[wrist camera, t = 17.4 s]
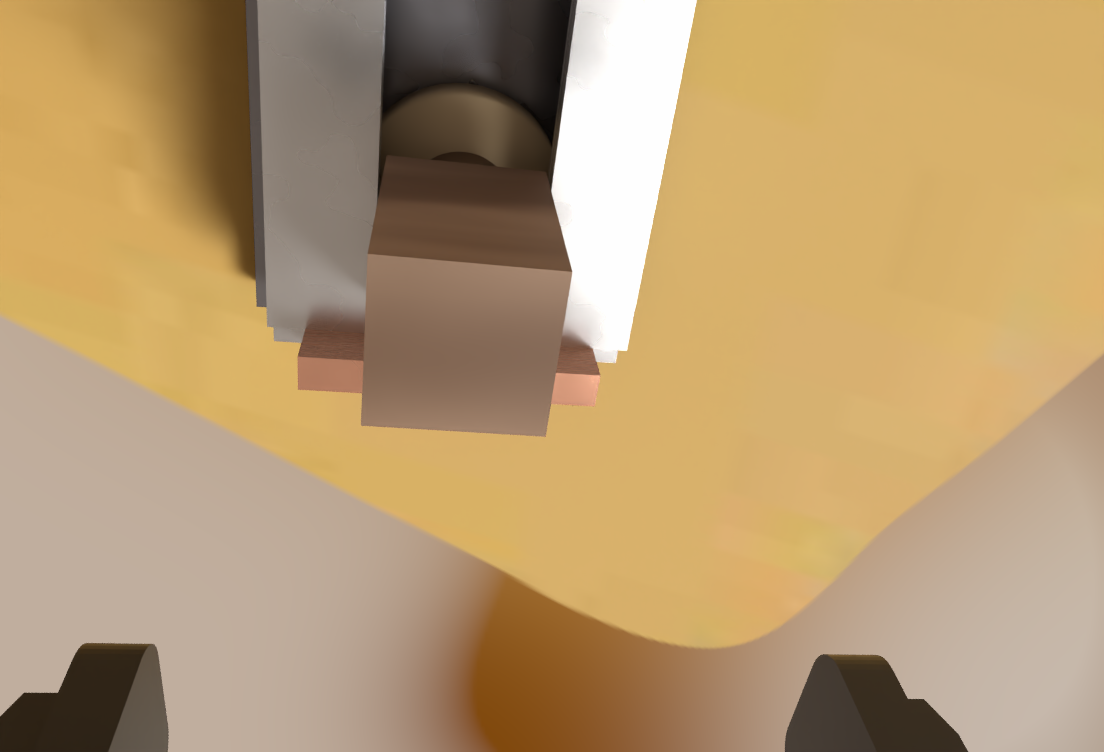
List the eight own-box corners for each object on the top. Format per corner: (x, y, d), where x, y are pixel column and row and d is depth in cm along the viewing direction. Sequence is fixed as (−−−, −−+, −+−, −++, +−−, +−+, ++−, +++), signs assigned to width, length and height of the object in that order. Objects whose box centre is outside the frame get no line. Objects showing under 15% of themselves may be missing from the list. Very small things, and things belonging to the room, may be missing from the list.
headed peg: (360, 70, 25) (314, 198, 17) (572, 95, 26) (630, 229, 18) (354, 267, 28) (312, 460, 20) (544, 283, 29) (583, 475, 21)
